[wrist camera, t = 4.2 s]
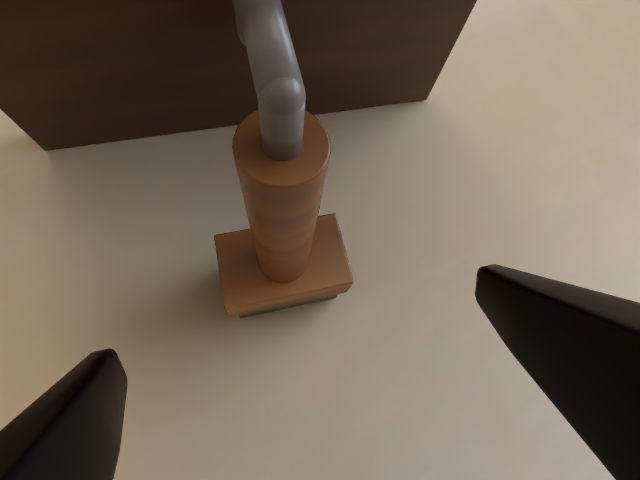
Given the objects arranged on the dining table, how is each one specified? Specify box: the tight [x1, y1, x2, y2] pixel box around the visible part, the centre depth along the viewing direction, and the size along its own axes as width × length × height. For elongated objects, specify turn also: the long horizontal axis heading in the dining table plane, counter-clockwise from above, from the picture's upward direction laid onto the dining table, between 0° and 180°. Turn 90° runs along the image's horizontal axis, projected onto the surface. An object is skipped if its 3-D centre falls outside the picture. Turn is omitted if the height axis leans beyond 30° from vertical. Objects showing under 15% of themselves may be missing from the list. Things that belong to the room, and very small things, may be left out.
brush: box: [214, 0, 354, 318], centre depth 14 cm, size 6×6×14 cm
